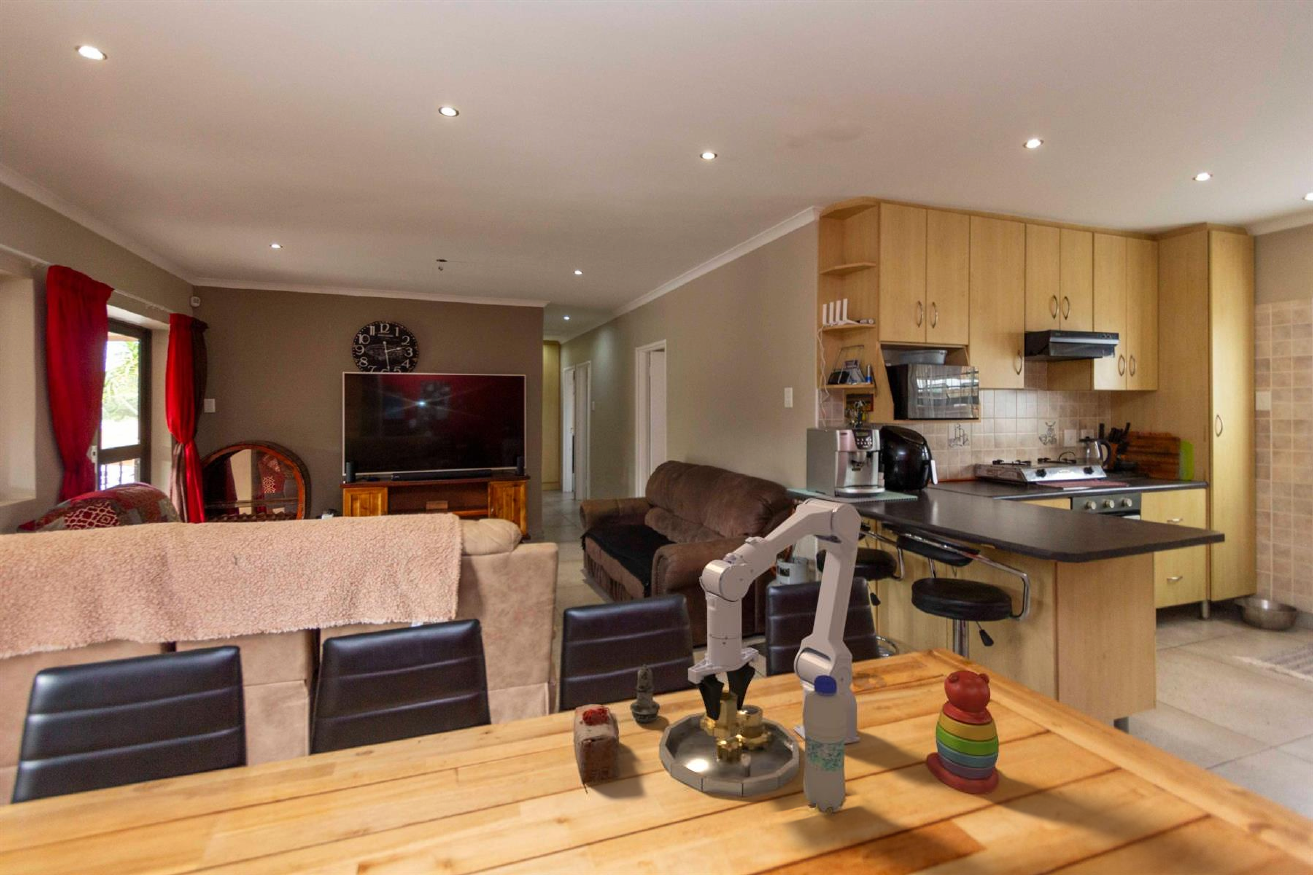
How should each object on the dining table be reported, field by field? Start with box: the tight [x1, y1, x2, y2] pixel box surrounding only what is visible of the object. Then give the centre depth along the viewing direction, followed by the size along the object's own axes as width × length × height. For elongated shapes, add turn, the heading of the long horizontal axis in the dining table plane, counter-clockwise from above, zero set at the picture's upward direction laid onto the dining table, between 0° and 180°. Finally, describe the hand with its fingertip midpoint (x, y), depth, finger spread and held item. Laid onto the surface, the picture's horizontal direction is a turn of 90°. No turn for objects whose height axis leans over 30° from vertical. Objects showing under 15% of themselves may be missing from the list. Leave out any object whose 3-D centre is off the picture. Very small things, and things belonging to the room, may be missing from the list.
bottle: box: [802, 675, 847, 813], centre depth 98 cm, size 7×7×20 cm
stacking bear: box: [925, 669, 1000, 795], centre depth 105 cm, size 11×10×18 cm
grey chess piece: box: [629, 663, 661, 723], centre depth 123 cm, size 6×6×12 cm
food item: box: [573, 703, 621, 789], centre depth 109 cm, size 14×8×10 cm, turn 13°
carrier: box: [658, 704, 801, 797], centre depth 110 cm, size 24×24×7 cm
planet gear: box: [700, 689, 745, 739], centre depth 107 cm, size 7×7×5 cm
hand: (724, 713), depth 107 cm, fingers closed on planet gear, 5 cm apart
